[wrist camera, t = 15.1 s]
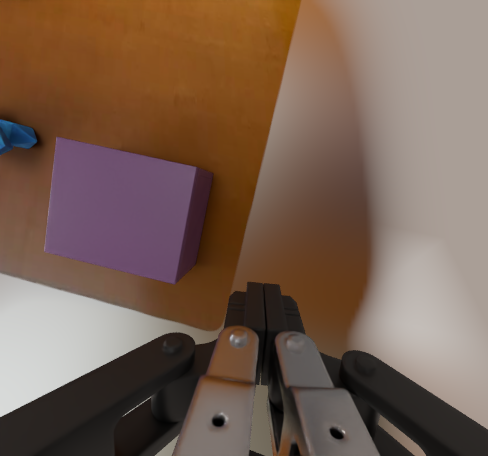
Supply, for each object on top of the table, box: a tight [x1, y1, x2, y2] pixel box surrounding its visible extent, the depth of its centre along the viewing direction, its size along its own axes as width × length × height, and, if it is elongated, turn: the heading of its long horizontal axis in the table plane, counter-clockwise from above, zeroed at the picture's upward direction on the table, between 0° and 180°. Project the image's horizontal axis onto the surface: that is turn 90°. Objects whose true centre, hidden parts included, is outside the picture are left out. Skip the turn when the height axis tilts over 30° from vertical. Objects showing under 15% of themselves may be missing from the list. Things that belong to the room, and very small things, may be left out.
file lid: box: [44, 137, 198, 284], centre depth 30 cm, size 16×14×1 cm
